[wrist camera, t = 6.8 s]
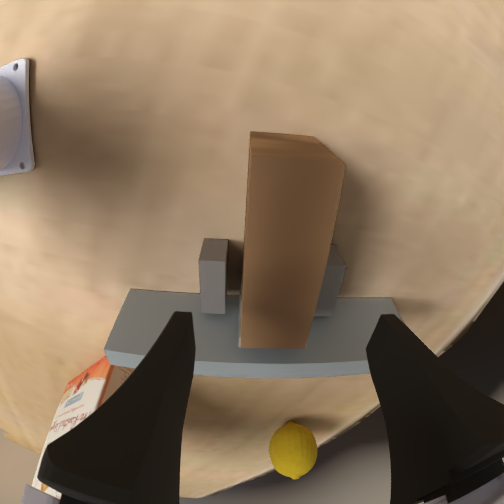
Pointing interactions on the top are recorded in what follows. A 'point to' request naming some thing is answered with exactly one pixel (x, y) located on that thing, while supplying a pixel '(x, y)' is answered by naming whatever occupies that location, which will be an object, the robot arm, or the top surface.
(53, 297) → the top surface
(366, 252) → the top surface
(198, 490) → the top surface
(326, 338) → the grey plank with pegs
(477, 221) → the top surface
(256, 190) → the block
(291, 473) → the lemon
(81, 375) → the cracker box
